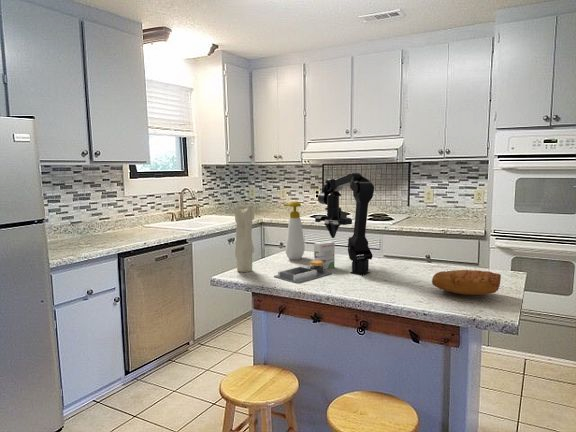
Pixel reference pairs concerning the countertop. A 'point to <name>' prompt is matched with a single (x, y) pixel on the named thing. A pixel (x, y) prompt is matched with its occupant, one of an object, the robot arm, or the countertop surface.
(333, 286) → the countertop surface
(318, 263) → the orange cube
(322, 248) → the ink box
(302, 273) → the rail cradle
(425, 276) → the countertop surface
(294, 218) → the soap bottle
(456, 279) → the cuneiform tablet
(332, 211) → the robot arm
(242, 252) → the vase
